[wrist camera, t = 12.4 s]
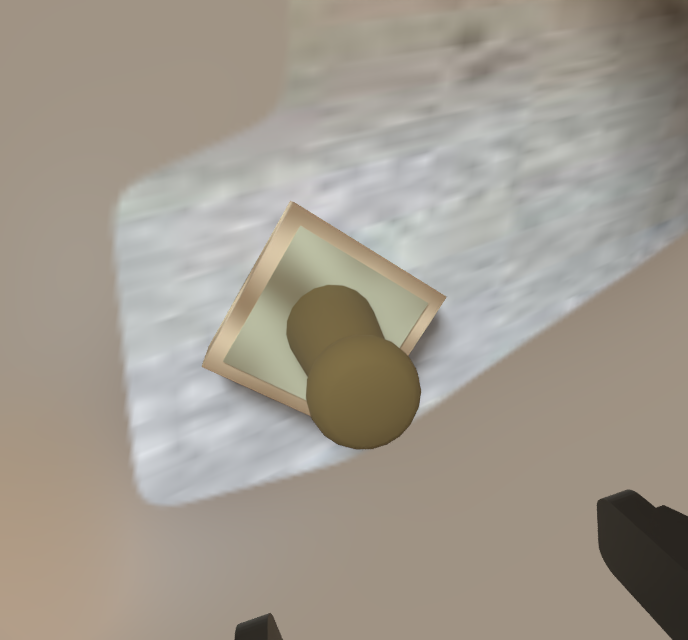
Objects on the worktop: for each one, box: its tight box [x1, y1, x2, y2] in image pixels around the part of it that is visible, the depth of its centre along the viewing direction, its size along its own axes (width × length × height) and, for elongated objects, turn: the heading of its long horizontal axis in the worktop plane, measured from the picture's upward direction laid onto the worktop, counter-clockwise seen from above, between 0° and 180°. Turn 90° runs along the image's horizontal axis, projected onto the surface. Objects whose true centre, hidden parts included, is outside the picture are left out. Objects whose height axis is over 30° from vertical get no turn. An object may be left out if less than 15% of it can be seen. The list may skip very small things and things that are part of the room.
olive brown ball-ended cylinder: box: [286, 285, 421, 449], centre depth 23 cm, size 6×6×11 cm
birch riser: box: [202, 201, 446, 416], centre depth 30 cm, size 12×12×4 cm
